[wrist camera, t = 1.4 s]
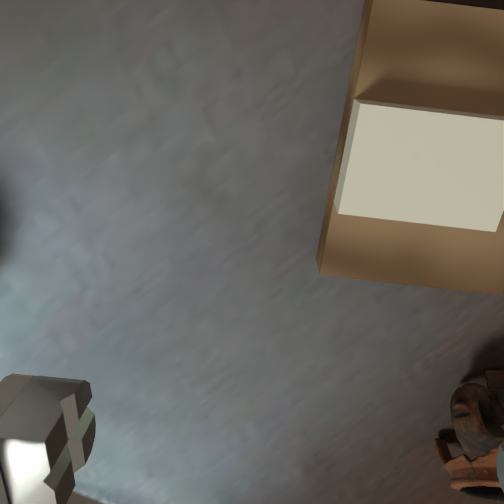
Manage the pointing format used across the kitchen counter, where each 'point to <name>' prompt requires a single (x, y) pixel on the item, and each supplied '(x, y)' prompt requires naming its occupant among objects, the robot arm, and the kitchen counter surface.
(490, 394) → the pottery mug
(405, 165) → the cream rectangular block
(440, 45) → the board
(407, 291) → the kitchen counter surface
